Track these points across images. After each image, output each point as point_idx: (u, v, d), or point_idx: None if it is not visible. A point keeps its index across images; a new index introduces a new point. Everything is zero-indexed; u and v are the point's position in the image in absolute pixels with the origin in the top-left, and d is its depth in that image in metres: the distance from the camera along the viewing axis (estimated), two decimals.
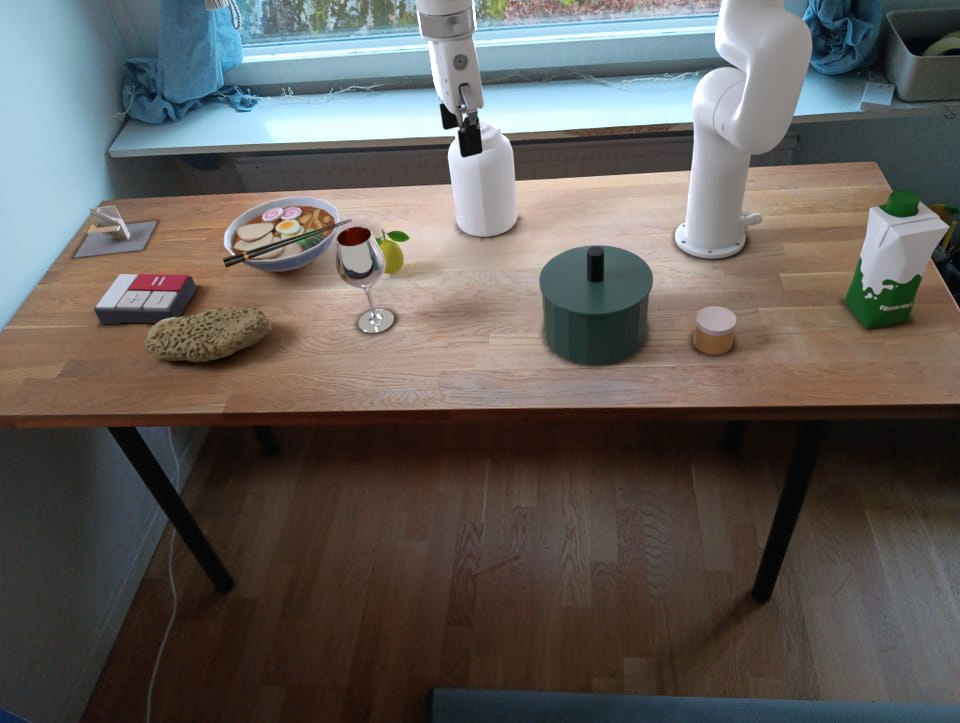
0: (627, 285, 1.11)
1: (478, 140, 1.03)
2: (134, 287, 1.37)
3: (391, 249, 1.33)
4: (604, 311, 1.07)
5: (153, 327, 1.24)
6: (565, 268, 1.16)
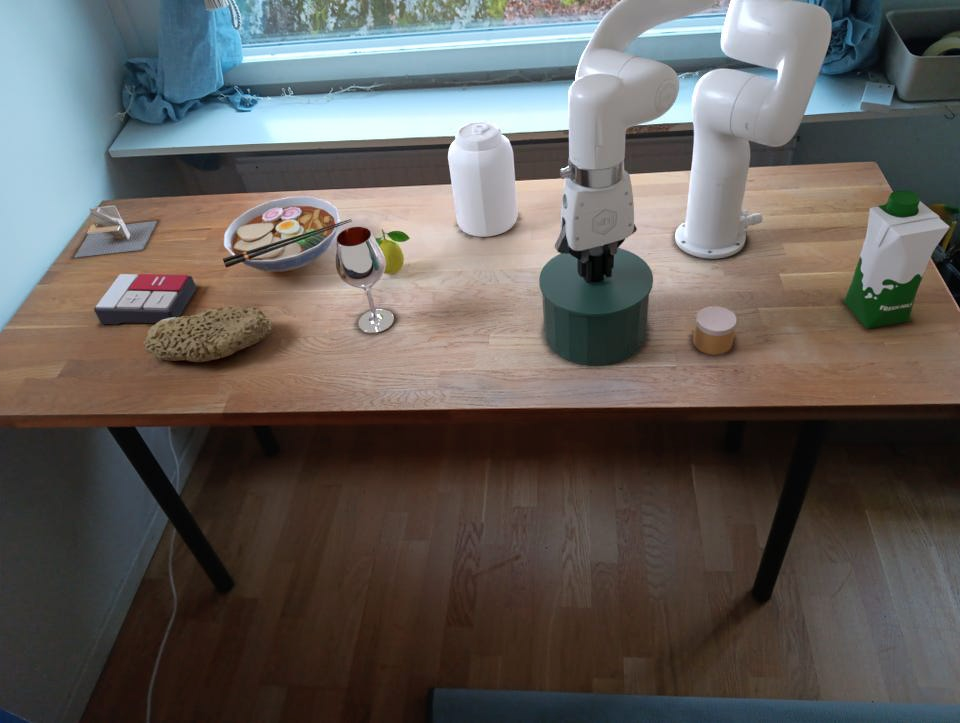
0: (627, 285, 1.11)
1: (586, 272, 1.10)
2: (134, 286, 1.37)
3: (391, 249, 1.33)
4: (604, 311, 1.07)
5: (153, 327, 1.24)
6: (565, 268, 1.16)
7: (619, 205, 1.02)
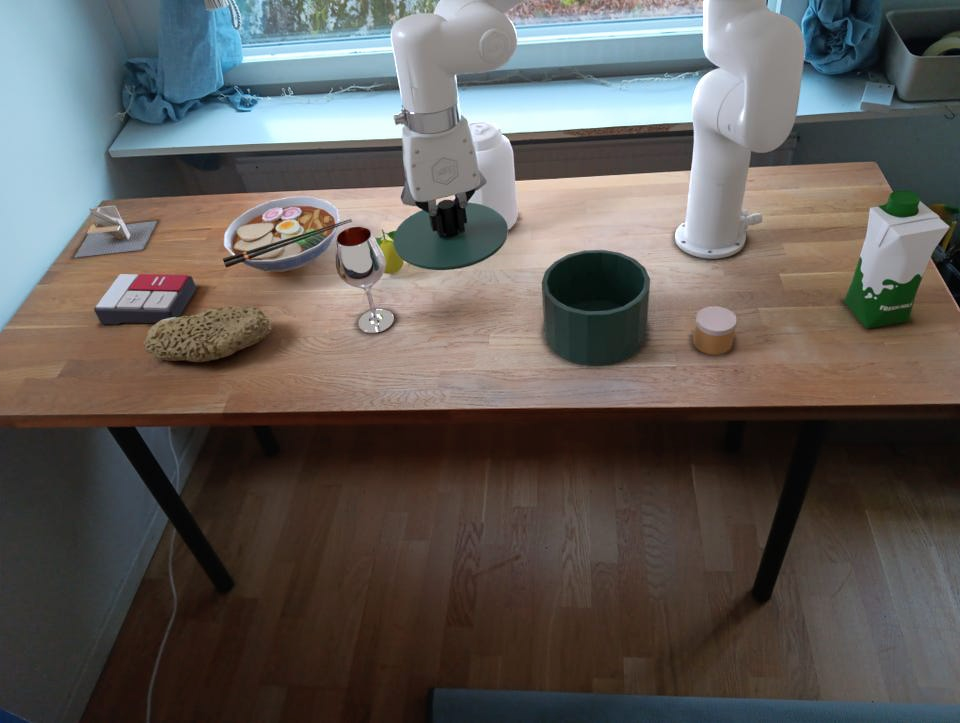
0: (480, 239, 1.08)
1: (437, 225, 1.08)
2: (134, 287, 1.37)
3: (391, 249, 1.33)
4: (451, 264, 1.04)
5: (153, 327, 1.24)
6: (422, 224, 1.13)
7: (458, 153, 0.99)
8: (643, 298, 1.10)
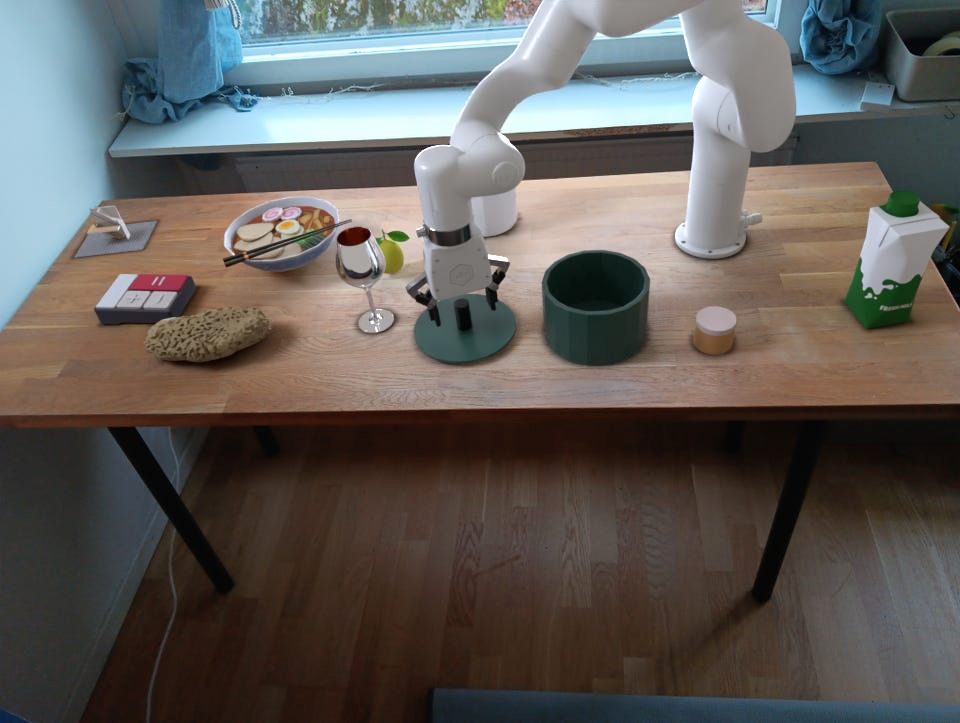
0: (491, 334, 1.21)
1: (435, 316, 1.19)
2: (134, 286, 1.37)
3: (391, 249, 1.33)
4: (466, 359, 1.17)
5: (153, 327, 1.24)
6: None
7: (473, 260, 1.12)
8: (643, 298, 1.10)
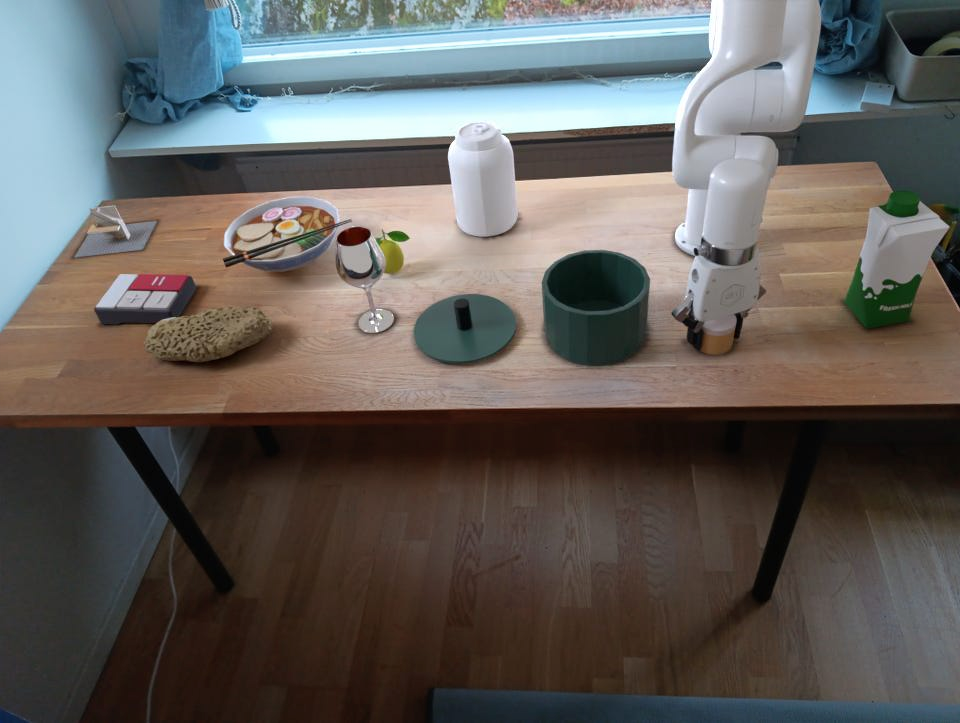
0: (491, 334, 1.21)
1: (697, 340, 1.13)
2: (134, 286, 1.37)
3: (391, 249, 1.33)
4: (466, 359, 1.17)
5: (153, 327, 1.24)
6: (439, 316, 1.26)
7: (748, 279, 1.05)
8: (643, 298, 1.10)
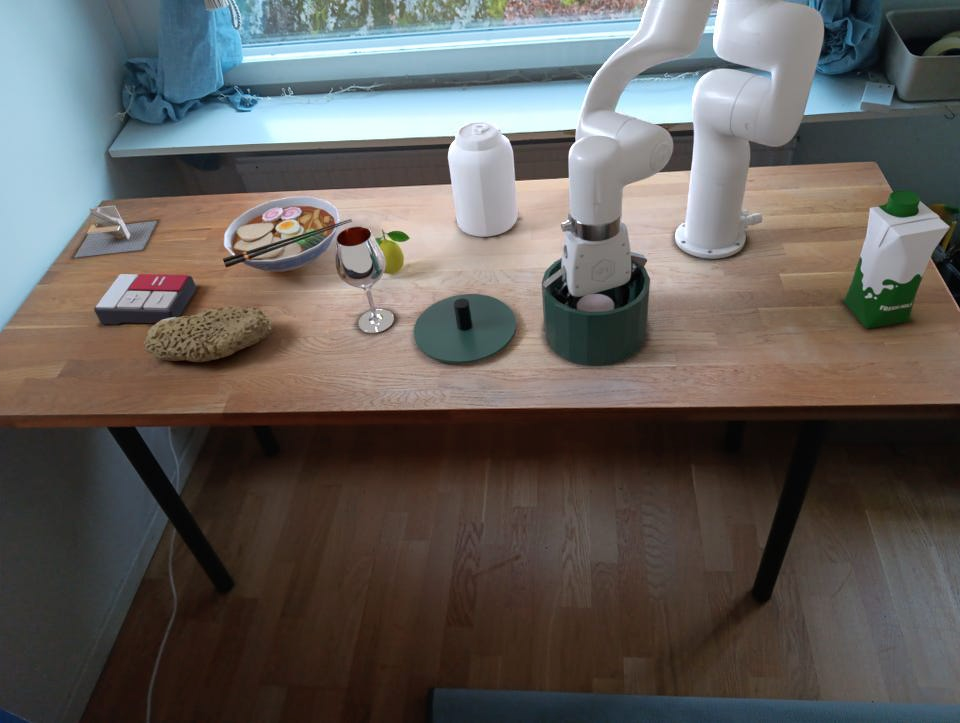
0: (491, 334, 1.21)
1: None
2: (134, 286, 1.37)
3: (391, 249, 1.33)
4: (466, 359, 1.17)
5: (153, 327, 1.24)
6: (439, 316, 1.26)
7: (617, 255, 1.08)
8: (643, 298, 1.10)
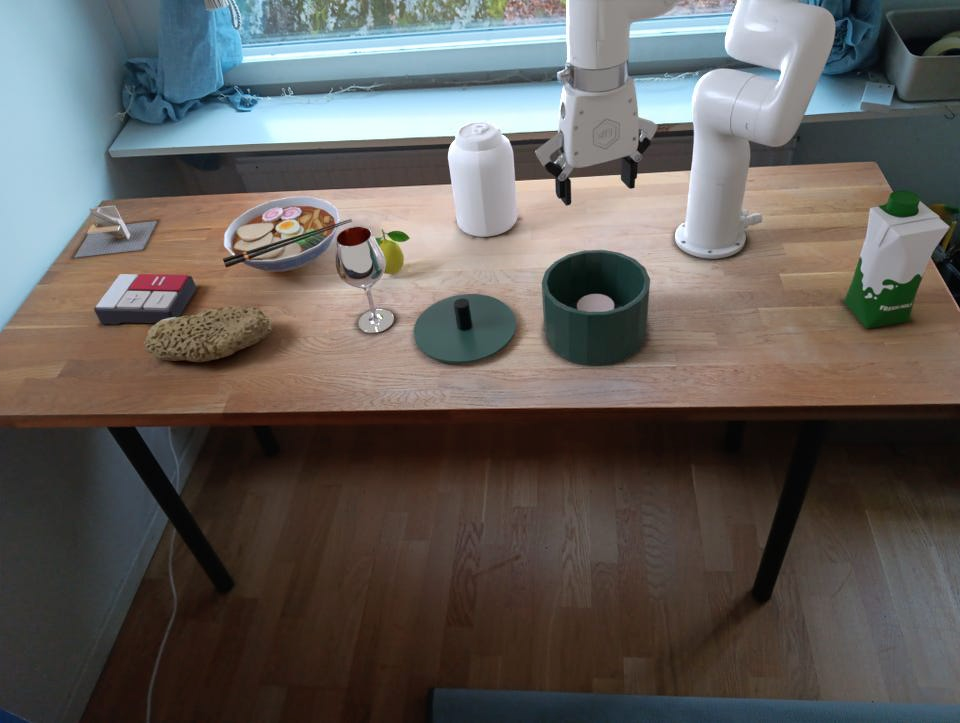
0: (491, 334, 1.21)
1: (565, 192, 1.00)
2: (134, 286, 1.37)
3: (391, 249, 1.33)
4: (466, 359, 1.17)
5: (153, 327, 1.24)
6: (439, 316, 1.26)
7: (622, 114, 0.93)
8: (643, 298, 1.10)
